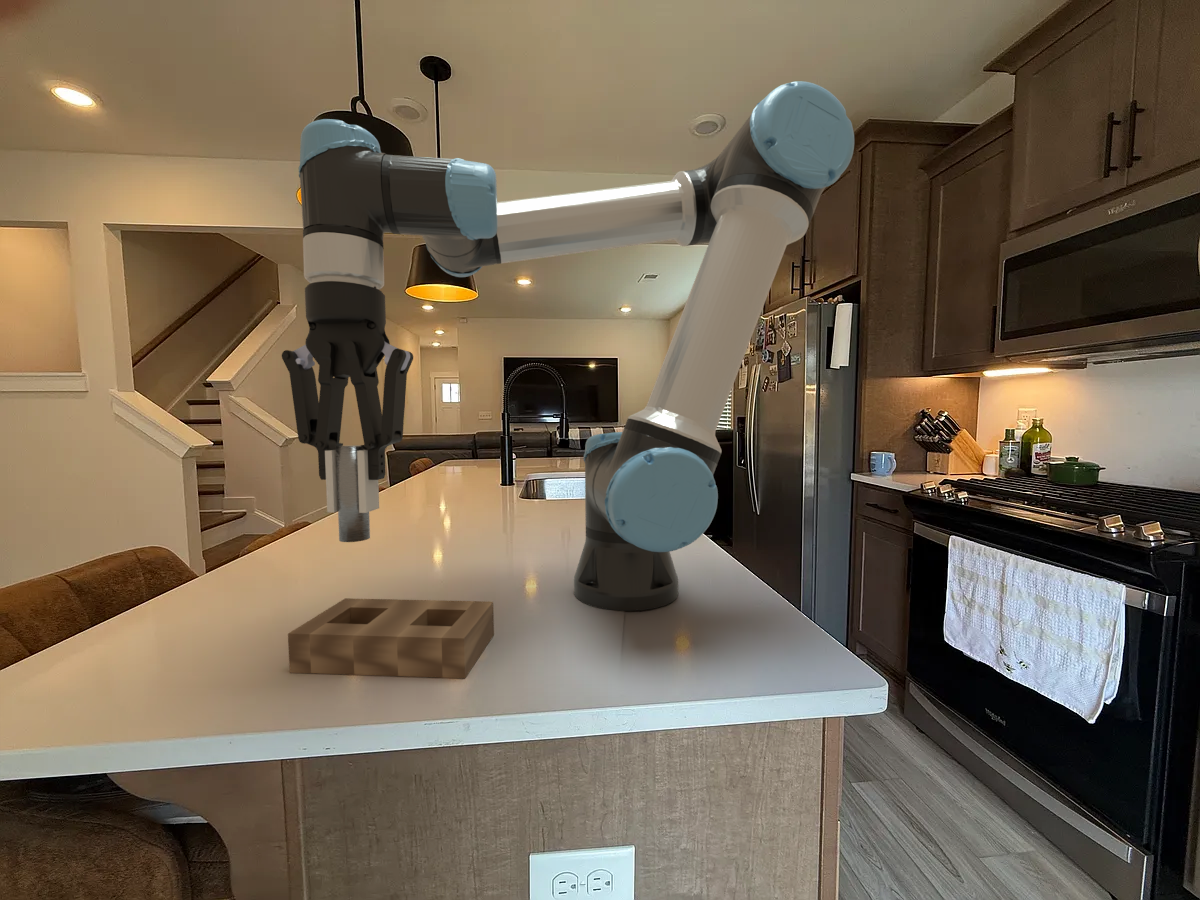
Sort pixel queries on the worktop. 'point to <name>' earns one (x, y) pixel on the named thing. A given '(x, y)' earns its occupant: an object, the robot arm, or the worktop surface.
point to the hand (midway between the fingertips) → (353, 509)
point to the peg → (350, 497)
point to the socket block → (393, 638)
